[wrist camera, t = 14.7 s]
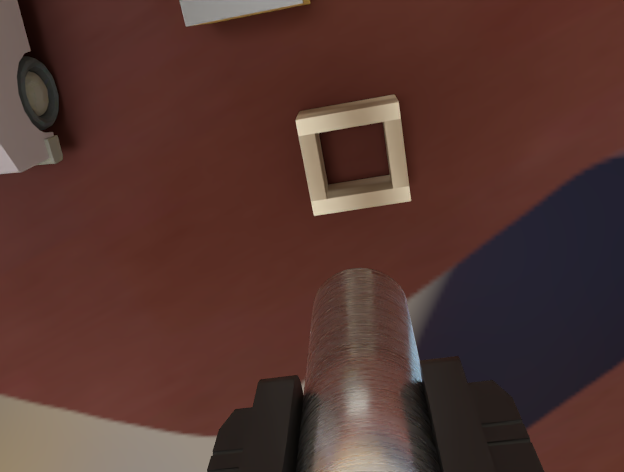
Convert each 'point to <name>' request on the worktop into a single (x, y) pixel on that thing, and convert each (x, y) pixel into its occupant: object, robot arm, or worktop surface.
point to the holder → (361, 190)
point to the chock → (230, 9)
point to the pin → (364, 381)
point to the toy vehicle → (24, 99)
